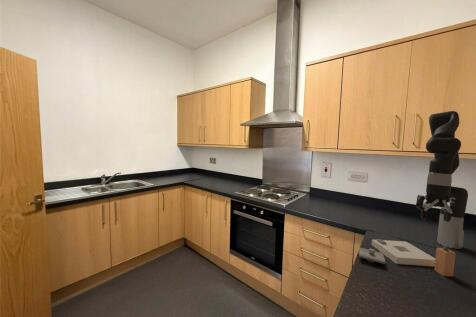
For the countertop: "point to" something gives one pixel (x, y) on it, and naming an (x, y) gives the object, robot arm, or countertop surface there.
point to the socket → (403, 253)
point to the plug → (444, 261)
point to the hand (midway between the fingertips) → (434, 220)
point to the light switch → (371, 255)
